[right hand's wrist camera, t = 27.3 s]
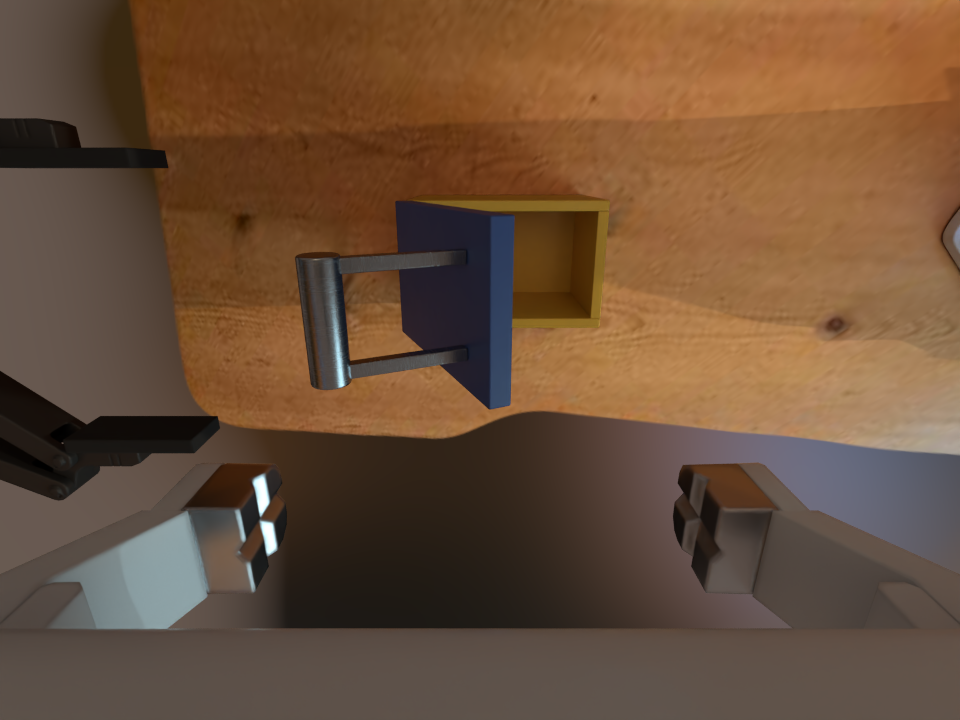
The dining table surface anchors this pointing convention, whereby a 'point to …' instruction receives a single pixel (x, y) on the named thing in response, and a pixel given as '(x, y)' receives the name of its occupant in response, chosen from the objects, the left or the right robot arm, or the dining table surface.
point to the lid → (424, 300)
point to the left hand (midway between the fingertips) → (181, 309)
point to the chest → (550, 255)
